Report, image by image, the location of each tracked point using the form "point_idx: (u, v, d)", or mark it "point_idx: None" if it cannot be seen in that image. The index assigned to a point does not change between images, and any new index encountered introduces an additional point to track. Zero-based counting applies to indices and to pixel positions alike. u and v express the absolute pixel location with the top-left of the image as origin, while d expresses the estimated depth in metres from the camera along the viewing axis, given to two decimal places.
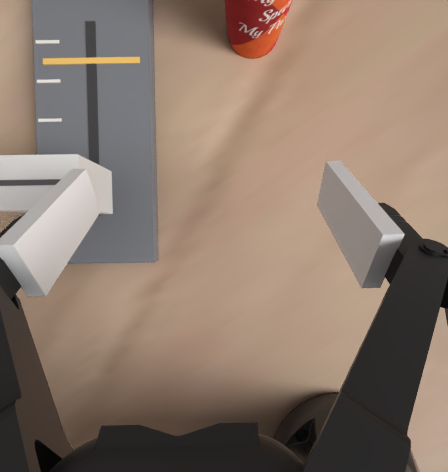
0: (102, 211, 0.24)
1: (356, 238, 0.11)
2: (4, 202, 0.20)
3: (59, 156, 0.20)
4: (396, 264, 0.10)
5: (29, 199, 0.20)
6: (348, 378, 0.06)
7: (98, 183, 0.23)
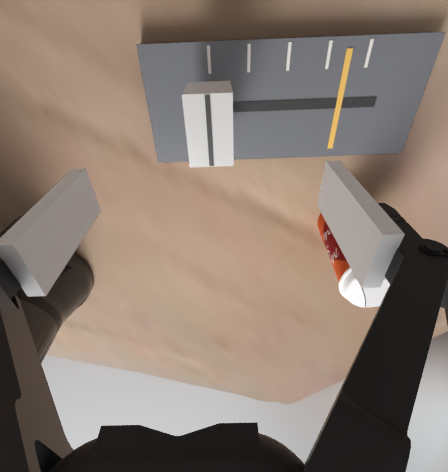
0: None
1: (356, 238, 0.11)
2: (190, 102, 0.22)
3: (231, 151, 0.24)
4: (396, 264, 0.10)
5: (194, 125, 0.23)
6: (348, 378, 0.06)
7: None
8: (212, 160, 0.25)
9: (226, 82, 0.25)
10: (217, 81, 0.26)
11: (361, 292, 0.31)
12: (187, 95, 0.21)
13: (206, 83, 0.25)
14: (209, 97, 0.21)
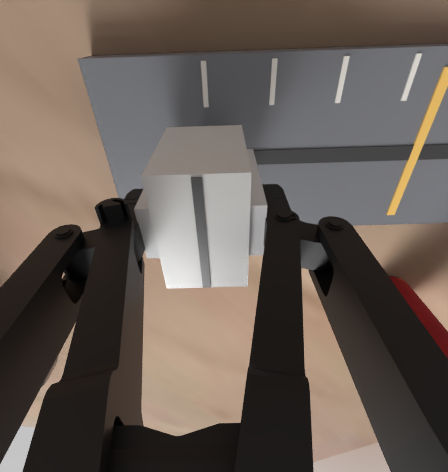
0: None
1: None
2: (160, 188, 0.10)
3: (245, 266, 0.13)
4: (265, 232, 0.12)
5: (172, 228, 0.11)
6: (252, 351, 0.06)
7: None
8: (208, 279, 0.13)
9: (235, 130, 0.14)
10: (219, 126, 0.15)
11: None
12: (153, 177, 0.10)
13: (198, 132, 0.14)
14: (200, 181, 0.10)
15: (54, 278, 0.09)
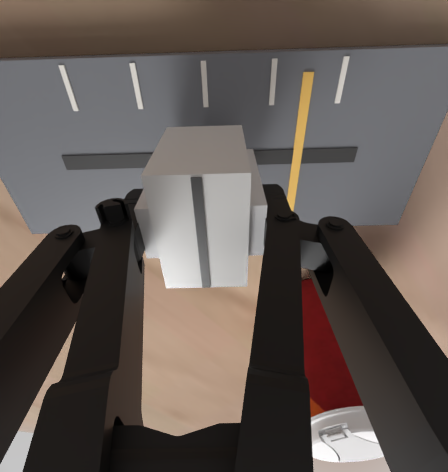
0: None
1: None
2: (160, 188, 0.10)
3: (244, 266, 0.13)
4: (265, 232, 0.12)
5: (171, 228, 0.11)
6: (251, 351, 0.06)
7: None
8: (208, 279, 0.13)
9: (235, 130, 0.14)
10: (219, 126, 0.15)
11: (331, 451, 0.20)
12: (153, 177, 0.10)
13: (198, 132, 0.14)
14: (200, 181, 0.10)
15: (54, 278, 0.09)
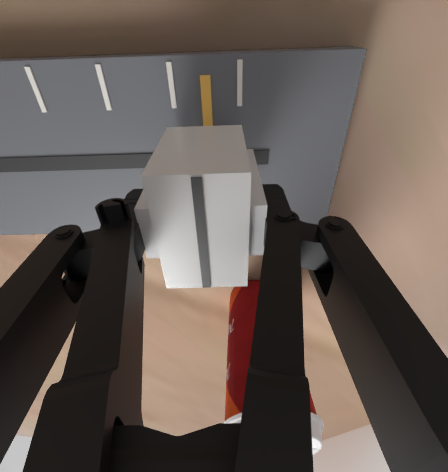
0: None
1: None
2: (160, 188, 0.10)
3: (245, 266, 0.13)
4: (265, 232, 0.12)
5: (172, 228, 0.11)
6: (252, 351, 0.06)
7: None
8: (208, 279, 0.13)
9: (235, 130, 0.14)
10: (218, 126, 0.15)
11: None
12: (153, 177, 0.10)
13: (198, 132, 0.14)
14: (200, 181, 0.10)
15: (54, 278, 0.09)
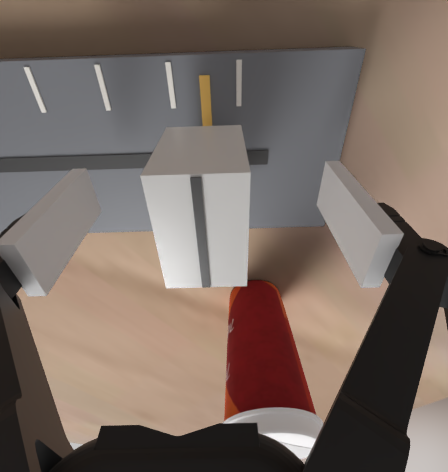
0: None
1: (355, 238, 0.11)
2: (159, 188, 0.10)
3: (244, 265, 0.13)
4: (395, 264, 0.10)
5: (171, 228, 0.11)
6: (347, 378, 0.06)
7: None
8: (207, 279, 0.13)
9: (234, 130, 0.14)
10: (218, 126, 0.15)
11: None
12: (153, 177, 0.10)
13: (198, 132, 0.14)
14: (200, 181, 0.10)
15: None
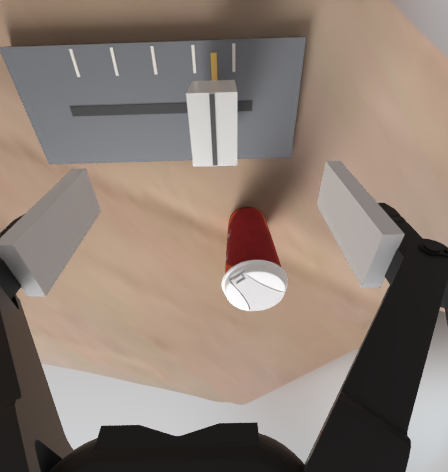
0: None
1: (356, 238, 0.11)
2: (194, 101, 0.22)
3: (235, 150, 0.24)
4: (396, 264, 0.10)
5: (198, 125, 0.23)
6: (348, 378, 0.06)
7: None
8: (216, 159, 0.25)
9: (230, 81, 0.25)
10: (221, 80, 0.26)
11: (240, 296, 0.31)
12: (191, 94, 0.21)
13: (210, 82, 0.25)
14: (213, 96, 0.21)
15: None
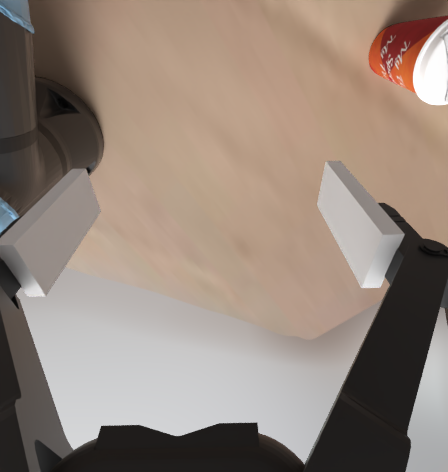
0: None
1: (356, 238, 0.11)
2: None
3: None
4: (396, 264, 0.10)
5: None
6: (348, 378, 0.06)
7: None
8: None
9: None
10: None
11: (445, 69, 0.25)
12: None
13: None
14: None
15: None
